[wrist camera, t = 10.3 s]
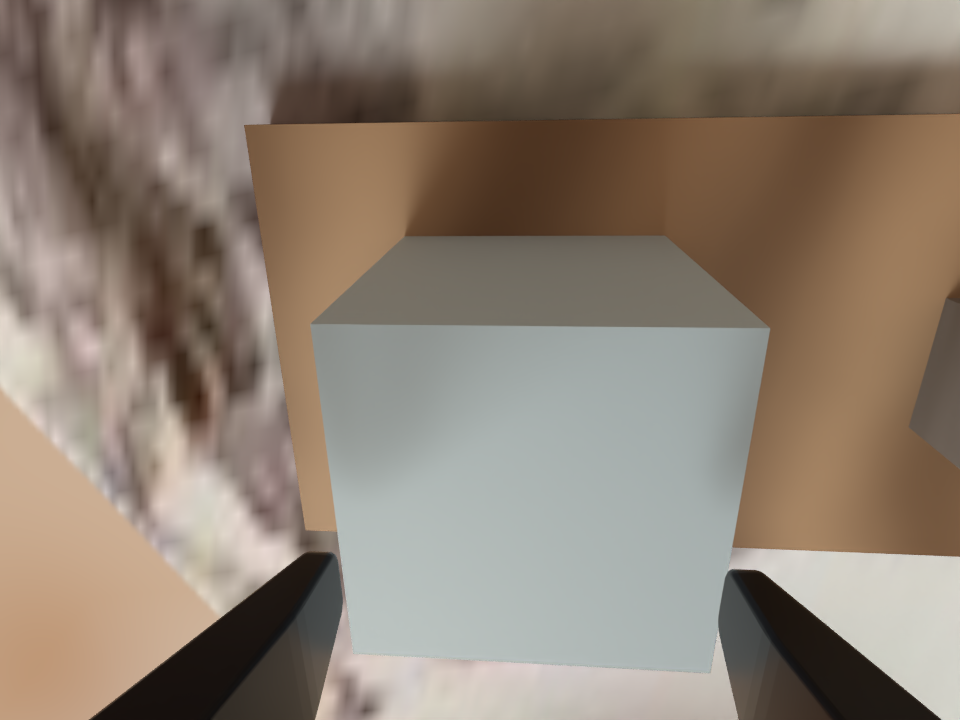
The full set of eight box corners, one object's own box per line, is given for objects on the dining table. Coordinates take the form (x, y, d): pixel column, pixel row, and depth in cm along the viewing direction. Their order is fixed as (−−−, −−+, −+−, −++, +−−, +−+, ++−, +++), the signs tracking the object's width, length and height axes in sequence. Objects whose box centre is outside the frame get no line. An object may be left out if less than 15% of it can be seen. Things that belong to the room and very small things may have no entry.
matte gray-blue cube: (665, 235, 15) (770, 328, 8) (642, 463, 17) (709, 673, 11) (404, 236, 15) (309, 324, 9) (418, 457, 18) (353, 653, 11)
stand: (1357, 107, 14) (2190, 97, 7) (1147, 532, 18) (1522, 784, 11) (269, 124, 16) (66, 129, 9) (321, 501, 20) (212, 700, 13)
